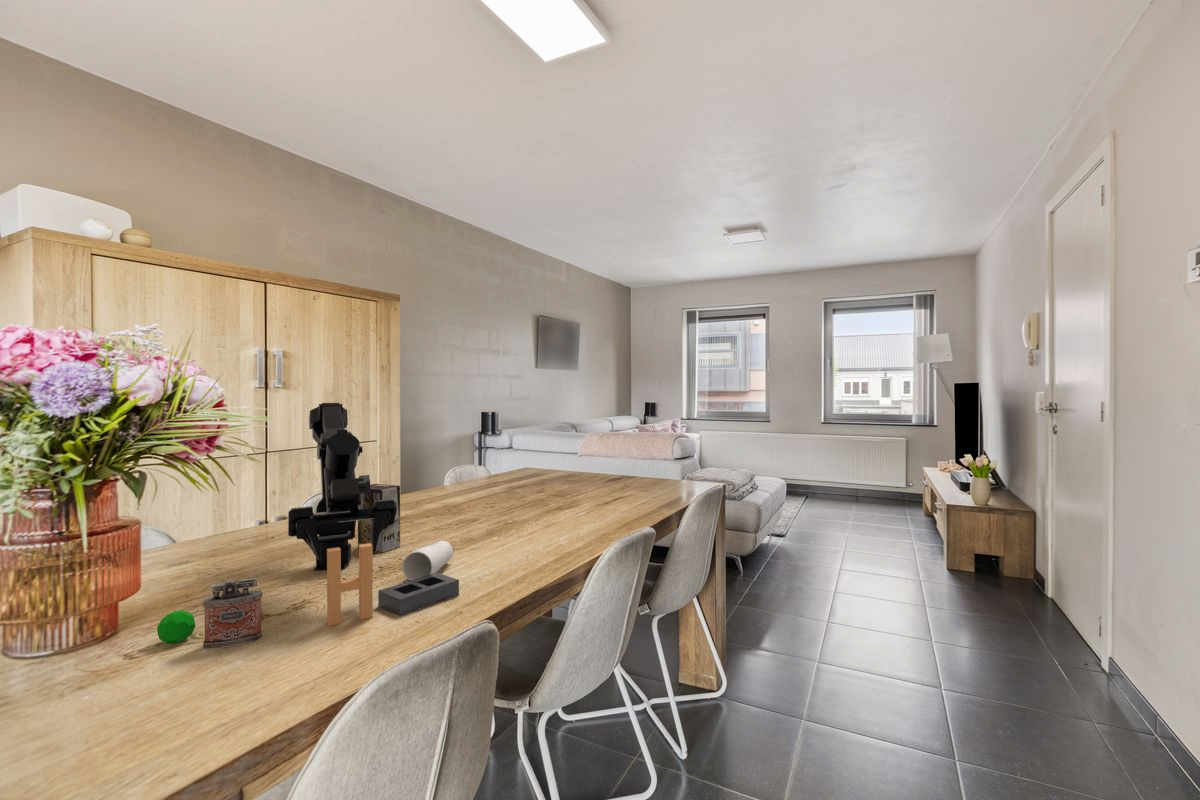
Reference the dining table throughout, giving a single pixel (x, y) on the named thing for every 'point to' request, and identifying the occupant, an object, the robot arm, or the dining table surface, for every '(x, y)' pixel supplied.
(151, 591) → the dining table surface
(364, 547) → the orange letter h block
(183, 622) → the polyhedron
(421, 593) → the grey slotted base block
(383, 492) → the coffee box
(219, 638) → the lighter
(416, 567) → the drinking glass
